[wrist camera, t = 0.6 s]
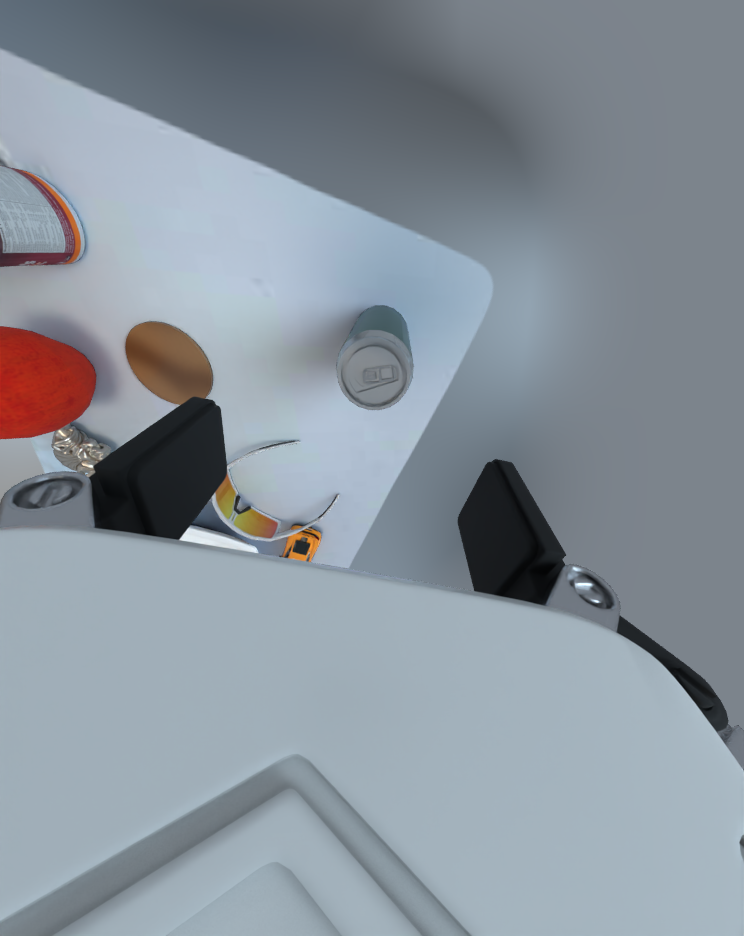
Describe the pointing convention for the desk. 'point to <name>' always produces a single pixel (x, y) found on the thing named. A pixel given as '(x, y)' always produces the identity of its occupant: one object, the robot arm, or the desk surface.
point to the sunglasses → (251, 509)
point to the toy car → (302, 544)
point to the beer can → (376, 359)
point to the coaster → (168, 362)
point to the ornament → (78, 450)
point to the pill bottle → (36, 222)
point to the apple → (40, 384)
